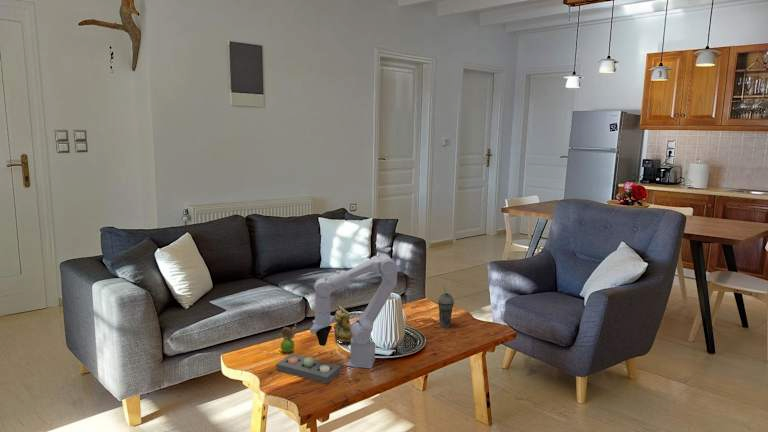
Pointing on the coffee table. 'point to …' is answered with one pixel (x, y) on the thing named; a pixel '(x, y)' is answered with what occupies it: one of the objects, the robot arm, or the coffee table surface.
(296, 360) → the terracotta button
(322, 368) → the cream button
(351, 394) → the coffee table surface
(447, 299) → the beverage cup
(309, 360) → the sage button
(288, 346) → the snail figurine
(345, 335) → the decorative figurine
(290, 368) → the button panel
